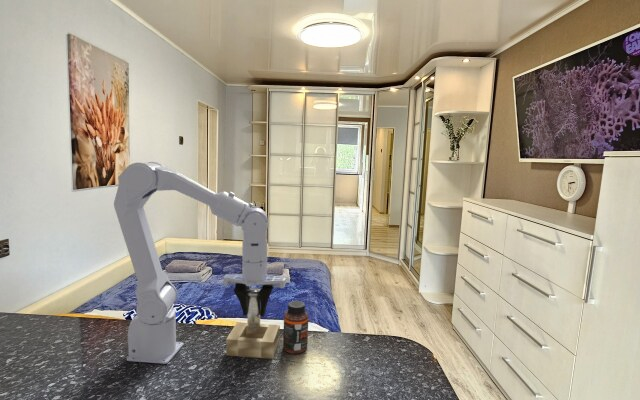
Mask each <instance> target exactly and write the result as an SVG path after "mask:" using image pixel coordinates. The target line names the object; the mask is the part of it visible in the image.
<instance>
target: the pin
mask: <svg viewBox="0 0 640 400" xmlns="http://www.w3.org/2000/svg"><path fill="white" fill-rule="evenodd" d="M260 290H261V288H249V290H247V291H246V295H248V313H247V322H246V323H247V329H248V330H250V331H256V330H259V329H260V324H261V317H260V309H261V299H260Z"/></svg>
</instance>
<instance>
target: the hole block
mask: <svg viewBox="0 0 640 400" xmlns="http://www.w3.org/2000/svg"><path fill="white" fill-rule="evenodd" d="M280 327H281V325H280V324H267V323H266V324H265V323H260V329H259V330H256V331H250V330H248V329H247V322H236V323H235V325H234V326H233V327H232V330H231V331H230V333H229V334H228V336H227V337H226V339H225V342H226V343H225V355H226V356H228V357H229V356H231V357H244V358H245V357H246V358H258V359H259V358H260V359H273V360H274V357H275V355H276V350H277V347H278V346H279V342H280V335H281V334H280V333H281V332H280Z"/></svg>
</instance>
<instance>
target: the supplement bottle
mask: <svg viewBox="0 0 640 400" xmlns="http://www.w3.org/2000/svg"><path fill="white" fill-rule="evenodd" d="M287 305H288V306H287V310H286V311H285V312H284V314H283V345H282V346H283V350H284V351H286V352H287V353H289V354H294V355H297V354H301V353H303V352H305V351H306V350H307V348H308V344H309V343H308V342H309V340H308V337H309V336H308V335H309V312H308V311H306V305H305V302H303V301H301V300H292V301H289V302H288V304H287Z"/></svg>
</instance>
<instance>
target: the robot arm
mask: <svg viewBox="0 0 640 400" xmlns="http://www.w3.org/2000/svg"><path fill="white" fill-rule="evenodd" d="M117 180H118V185H117V190H116V193H115V197H114V202H113V207H114V210H115V214H116V217H117V220H118V223H119V226H120V230H121V233H122V236H123V239H124V242H125V244H126V248H127V252H128V255H129V258H130V260H131V263H132V267H133V270H134V273H135V276H136V279H137V287H136V291H135V297H136V301H137V305H136V309H135V310H136V311H135V312H136V315H135V316H134V317H133V318H132V320H131V321H130V323H129V326H128V330H127V345H128V347H127V348H128V357H126V361H128V362H138V363H148V364H149V363H152V364H168V363H169V362H170V361H171V360H172V359H173V358H174V357H175V355H176V354H177V353H178V352H179V351H180V350H181V348H183V346H184V342H183V341H182V342H179V341H177V329H176V327H177V323H176V321H177V320H176V319H177V318H176V316H177V315H176V310H175V308H174V305H173V304H174V303H175V302H176V300H177V299H178V290H177V288H176V287H175V285H174V284H173V283H172V282H171V280H170V277H169V275H168V274H166V273H165V272H164V271H163V268H162V264H161V261H160V258H159V255H158V251H157V249H156V248H157V247H156V245H155V241H154V238H153V235H152V231H151V229H150V228H151V227H150V225H149V222H148V221H149V220H148V218H147V215H146V212H145V209H144V208H145V204H147V202H148V201H149V199H150V198H151V196H152V195H154V194H155V193H156V192H160V191H163V192H164V191H176V192H179V193H180V194H183V195H185V196H187V197H190V198H192V199H194V200H196V201H198V202H200V203H202V204H204V205H207V206H208V207H209V209H210V212H211V214H212V215H214V216H216V217H218V218H220V219H222V220H224V221H226V222H228V223H230V224H232V225H233V226H236V227H241V230H242V231H243V239H242V246H241V247H242V257H241V258H242V261H241V262H242V263H241V264H242V268H241V270H242V271H241V273H233V274H231V273H230V274H229V273H228V274H227V273H226V274H225V275H224V276H223V282H222V283H223V286H228V285H235V286H234V288H233V293H234V295H235V296H236V297H237V300H238V301H239V303H240V306H241V310H242V316H244V317H245V316H248V295H246V291H247V290H249V289H250V287H255V286H258V287H261V288H260V289H261V290H260V299H261V309H260V318H262V317H264V316H265V315H266V311H267V309H266V308H267V305H268V302H269V299H270V296H271V293H272V291H273V290H274V288H275V287H276V288H279V289H285V287H286V281H287V280H286V277H283V276H278V275H277V276H276V275H270V274H268V239H267V238H268V232H267V230H268V228H269V222H268V215H267V213H266V212H265V211H264V209H262V208H261V207H260V206H255V204H254V203H252V202H249V203H247V202H245V201H244V200H242V199H240V198H238V197H236V196H235V195H236V193H234V192H232V191H229V192H227V191H221V192H215V191H213V190H212V189H209V188H207V187H206V186H204V185H203V184H200V183H199V182H197V181H196V180H193V179H191V178H190V177H188V176H186V175H184V174H183V173H181V172H180V171H177V170H176V169H174V168H171V167H168V166H164V165H162V164H161V163H159V162H156V161H149V162H134V163H131V164H129V165H127V166H126V168H124V169H123V171H122V172H121V173H120V175H118V178H117Z"/></svg>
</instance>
